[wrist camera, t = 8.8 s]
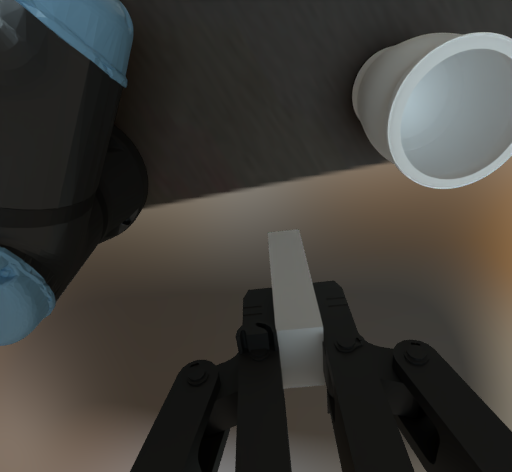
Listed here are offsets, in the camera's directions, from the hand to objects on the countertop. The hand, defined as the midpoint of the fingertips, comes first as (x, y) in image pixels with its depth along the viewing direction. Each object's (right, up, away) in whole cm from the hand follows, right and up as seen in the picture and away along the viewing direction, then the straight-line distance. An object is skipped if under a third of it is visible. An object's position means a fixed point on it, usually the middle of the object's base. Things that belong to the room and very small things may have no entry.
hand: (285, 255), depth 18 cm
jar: (+13, +16, +21) cm, 30 cm away
